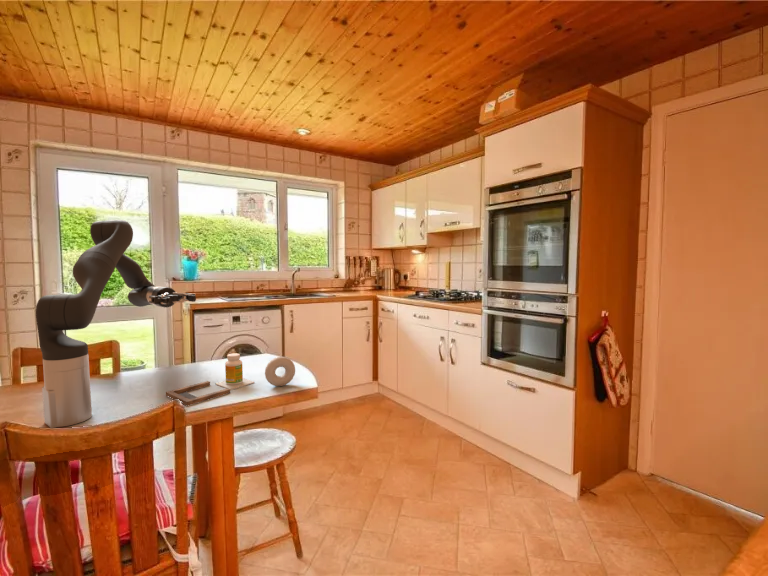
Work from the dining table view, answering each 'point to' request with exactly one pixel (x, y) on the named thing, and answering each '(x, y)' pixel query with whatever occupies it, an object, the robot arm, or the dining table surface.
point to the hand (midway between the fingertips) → (182, 299)
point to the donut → (277, 363)
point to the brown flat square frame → (191, 399)
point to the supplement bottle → (233, 369)
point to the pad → (244, 383)
